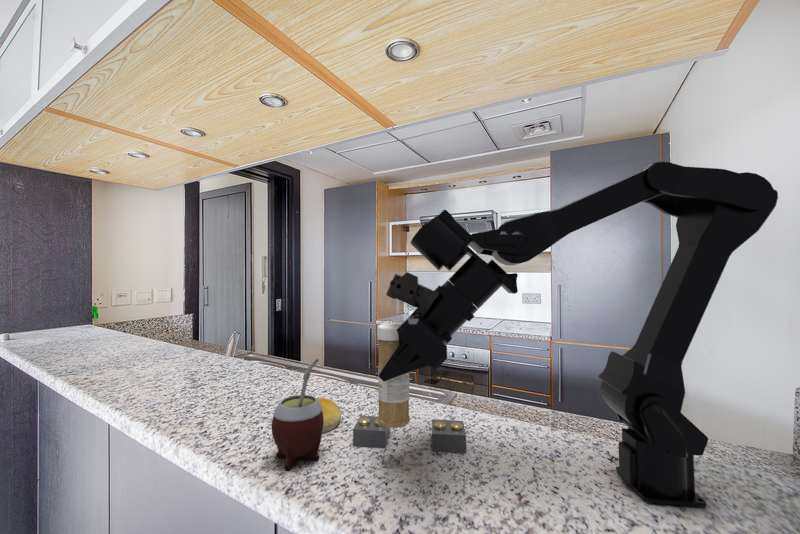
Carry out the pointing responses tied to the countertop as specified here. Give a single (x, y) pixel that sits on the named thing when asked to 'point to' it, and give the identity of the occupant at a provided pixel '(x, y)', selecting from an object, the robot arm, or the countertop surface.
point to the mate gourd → (298, 426)
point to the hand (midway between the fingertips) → (384, 373)
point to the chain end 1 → (370, 433)
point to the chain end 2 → (448, 436)
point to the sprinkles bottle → (391, 382)
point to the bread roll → (329, 414)
